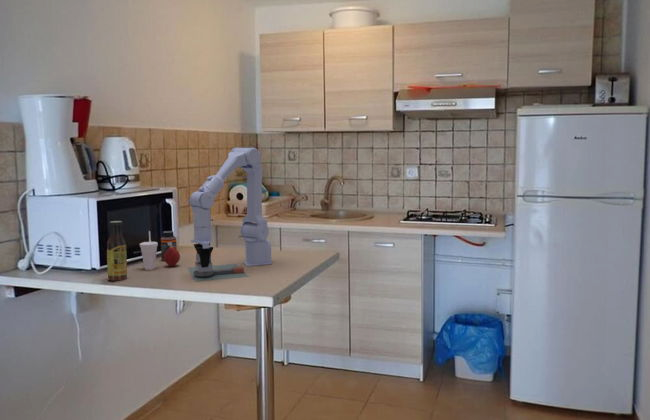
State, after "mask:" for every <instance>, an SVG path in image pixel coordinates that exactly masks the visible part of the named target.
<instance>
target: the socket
mask: <svg viewBox="0 0 650 420" xmlns="http://www.w3.org/2000/svg"><path fill="white" fill-rule="evenodd" d="M195 258H196V259H195V262H194V263H195V266H194V267H196V271H197V272H198V273H207V272H213V269H212V266H213V263H212V254H211V255H210V260H209V266H208V267H204V268H202V266H201V262H200V257H199V253H197V252H196V254H195Z"/></svg>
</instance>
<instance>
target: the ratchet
mask: <svg viewBox="0 0 650 420" xmlns="http://www.w3.org/2000/svg"><path fill="white" fill-rule="evenodd" d="M244 272H245V268H244V267H243V266H242V265H241V266H239V267H232V269H222V270H213V272H207V273H198V272H197V271H194V277H195V278H210V277H213V276H215V275H226V274H239V273H244Z"/></svg>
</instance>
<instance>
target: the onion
mask: <svg viewBox="0 0 650 420" xmlns="http://www.w3.org/2000/svg"><path fill="white" fill-rule="evenodd" d="M173 247H174V246H170V248H169V249H168V250H167V251H166V252H165V254H164V261H163V262H165V263H166V265H168V266H169V267H174V266H176V265H177V264H178V263H179V262H180V259H181V255H180V252H179V251H178V249H177V250H176V249H175V248H173Z"/></svg>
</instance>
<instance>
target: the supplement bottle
mask: <svg viewBox="0 0 650 420" xmlns="http://www.w3.org/2000/svg"><path fill="white" fill-rule="evenodd" d="M162 235H163V236H161V238H160V254H161V256H160V257H161V261H163V262H165V261H164V254H165V252H166V251H167V250H168V249H169V248H170V246H174V247H173V248H175V249H176V250H177V251H178V249H177V246H178V245H177V237H176V236H175V235H174V231H172V230H166V231H162Z"/></svg>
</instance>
